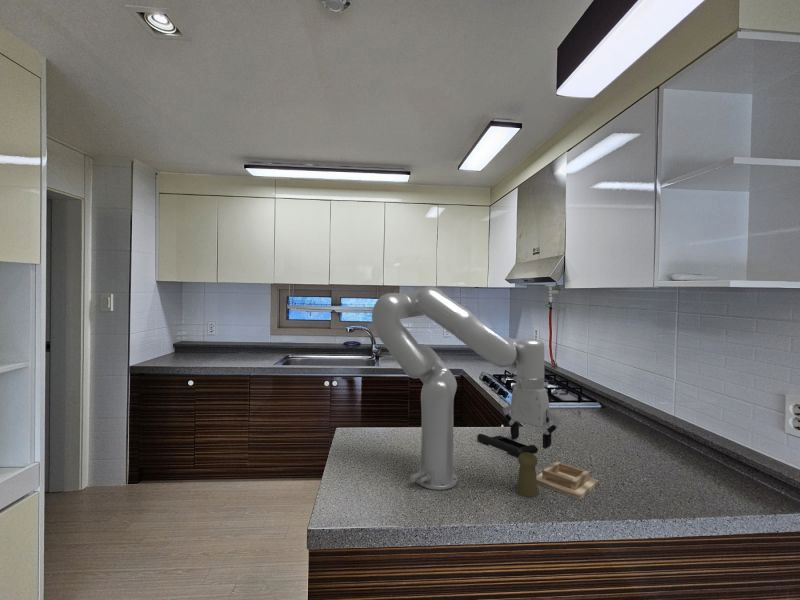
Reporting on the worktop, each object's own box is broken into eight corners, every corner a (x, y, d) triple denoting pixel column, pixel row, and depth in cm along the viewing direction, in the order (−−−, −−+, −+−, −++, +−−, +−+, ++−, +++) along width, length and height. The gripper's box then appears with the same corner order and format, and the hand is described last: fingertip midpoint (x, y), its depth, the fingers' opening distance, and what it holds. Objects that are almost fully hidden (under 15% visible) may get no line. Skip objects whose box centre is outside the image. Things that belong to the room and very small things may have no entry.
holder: (579, 500, 112) (579, 486, 112) (532, 482, 122) (532, 470, 122) (598, 484, 121) (599, 472, 121) (553, 468, 132) (554, 457, 132)
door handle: (502, 428, 164) (474, 433, 154) (546, 444, 148) (518, 451, 138) (501, 437, 164) (474, 442, 154) (545, 453, 148) (517, 460, 138)
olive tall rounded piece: (511, 492, 116) (512, 453, 115) (522, 485, 120) (523, 448, 120) (531, 500, 111) (532, 460, 111) (541, 492, 116) (542, 454, 115)
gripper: (496, 380, 119) (496, 438, 119) (553, 390, 106) (553, 455, 106) (510, 376, 124) (510, 432, 124) (566, 385, 111) (566, 447, 112)
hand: (530, 442), depth 115 cm, fingers open, 9 cm apart
